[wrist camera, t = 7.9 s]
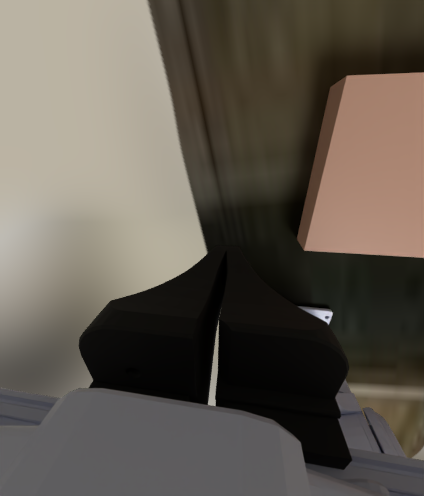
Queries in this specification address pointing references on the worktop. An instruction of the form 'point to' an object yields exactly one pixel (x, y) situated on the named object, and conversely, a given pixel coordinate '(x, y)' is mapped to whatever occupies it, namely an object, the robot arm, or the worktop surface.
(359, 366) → the worktop surface
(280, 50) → the worktop surface
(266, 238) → the worktop surface
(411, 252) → the book
